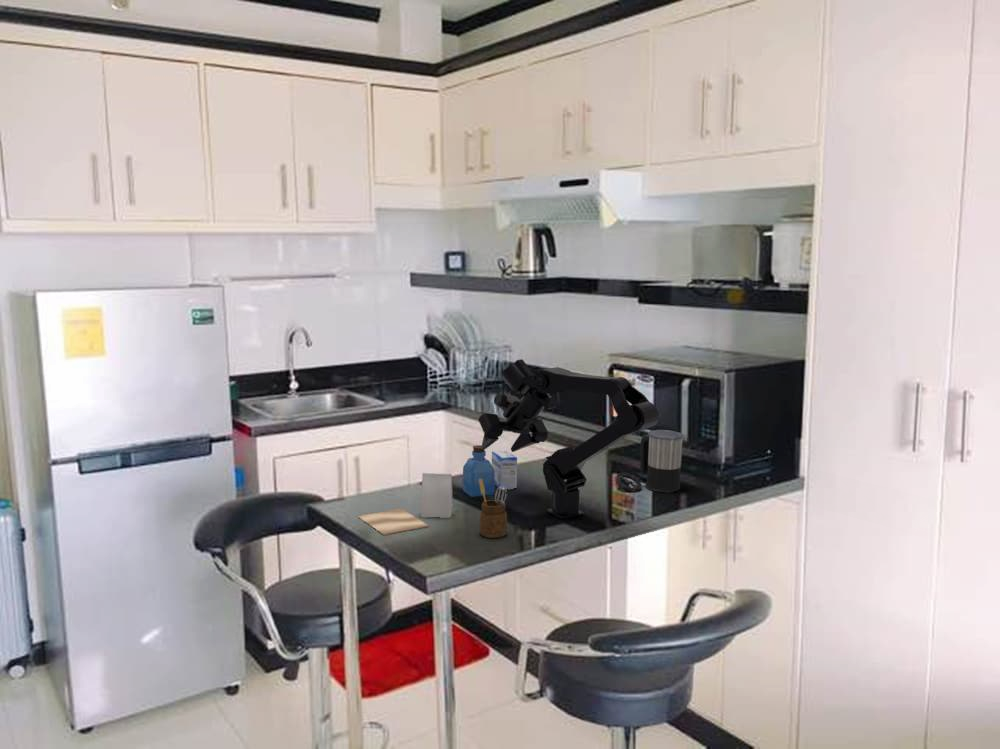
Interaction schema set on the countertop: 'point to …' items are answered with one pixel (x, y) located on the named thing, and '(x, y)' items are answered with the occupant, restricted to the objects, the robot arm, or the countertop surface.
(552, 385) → the robot arm
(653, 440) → the milk frother
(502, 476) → the medicine box
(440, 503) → the small cardboard carton
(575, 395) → the countertop surface
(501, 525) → the utensil holder
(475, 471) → the perfume bottle
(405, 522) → the cork mat
